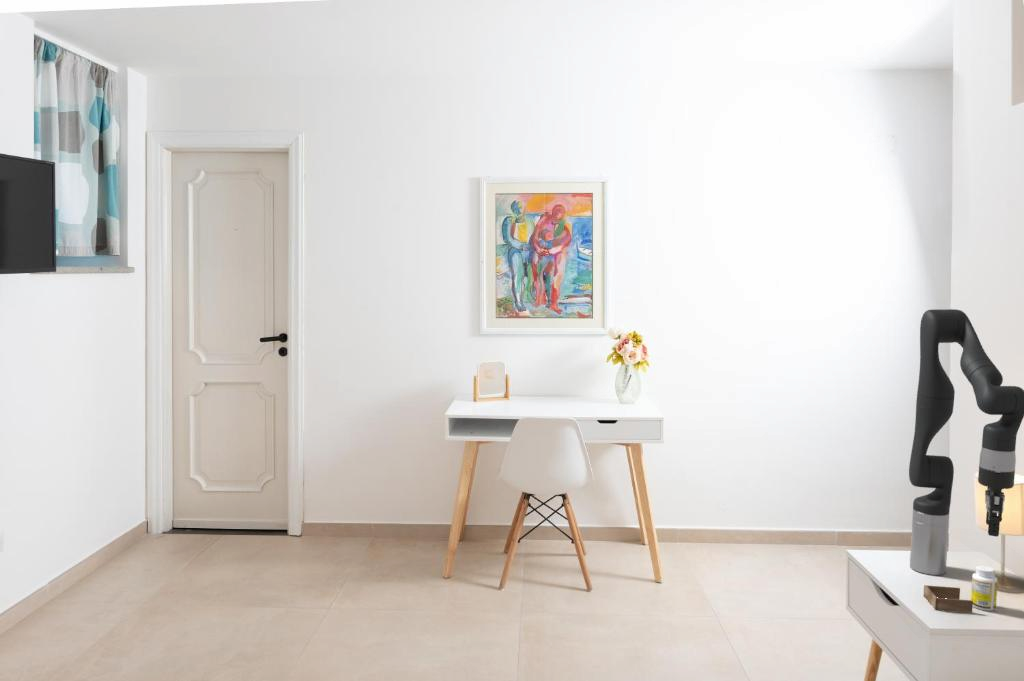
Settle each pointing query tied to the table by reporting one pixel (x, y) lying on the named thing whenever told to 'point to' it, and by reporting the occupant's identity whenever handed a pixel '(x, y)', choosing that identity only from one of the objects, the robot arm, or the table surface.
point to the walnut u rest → (952, 599)
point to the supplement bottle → (984, 588)
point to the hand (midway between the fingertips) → (992, 530)
